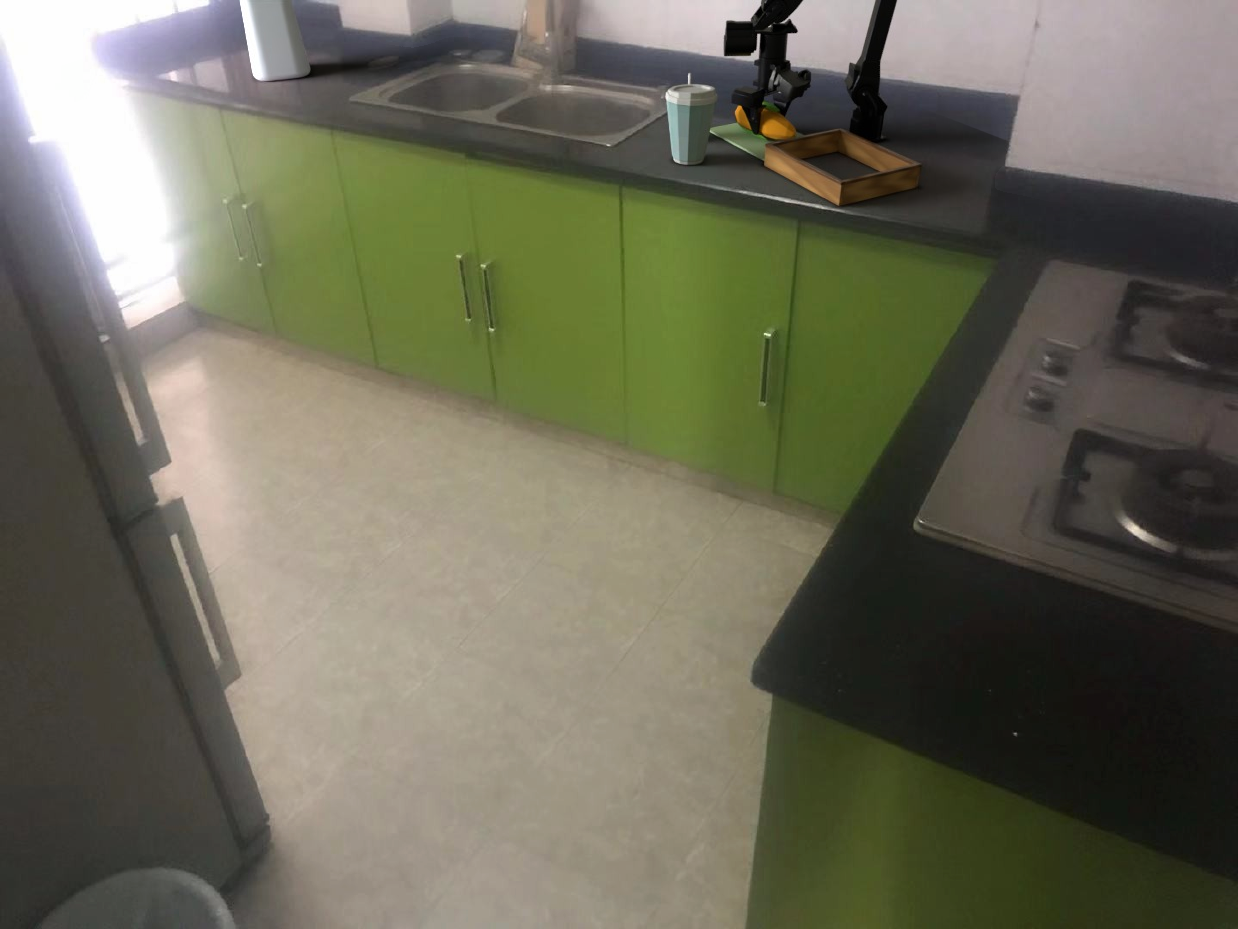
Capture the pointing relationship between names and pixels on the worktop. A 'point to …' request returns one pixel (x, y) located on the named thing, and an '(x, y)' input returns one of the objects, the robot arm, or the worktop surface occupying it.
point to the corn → (768, 123)
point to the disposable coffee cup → (690, 121)
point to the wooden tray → (892, 166)
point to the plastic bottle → (274, 40)
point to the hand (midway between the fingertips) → (767, 130)
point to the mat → (744, 139)
